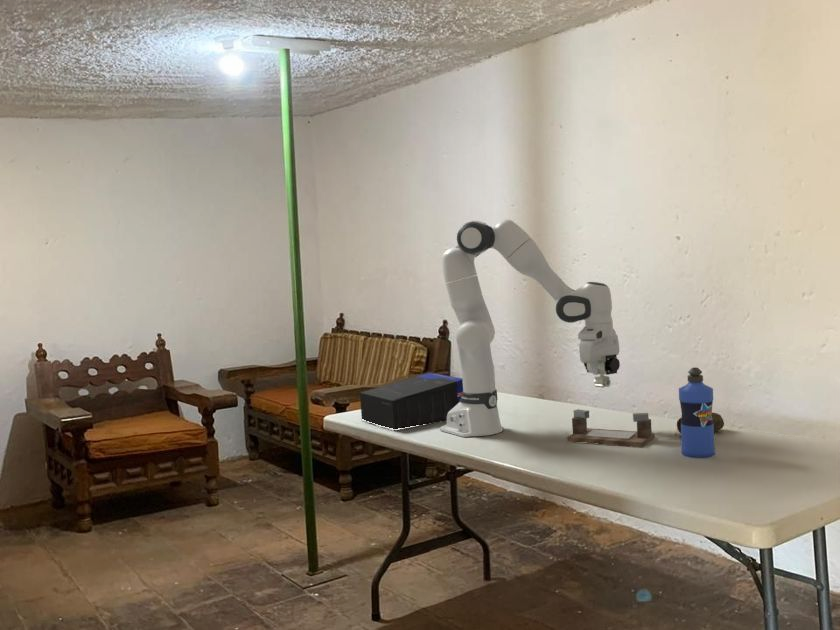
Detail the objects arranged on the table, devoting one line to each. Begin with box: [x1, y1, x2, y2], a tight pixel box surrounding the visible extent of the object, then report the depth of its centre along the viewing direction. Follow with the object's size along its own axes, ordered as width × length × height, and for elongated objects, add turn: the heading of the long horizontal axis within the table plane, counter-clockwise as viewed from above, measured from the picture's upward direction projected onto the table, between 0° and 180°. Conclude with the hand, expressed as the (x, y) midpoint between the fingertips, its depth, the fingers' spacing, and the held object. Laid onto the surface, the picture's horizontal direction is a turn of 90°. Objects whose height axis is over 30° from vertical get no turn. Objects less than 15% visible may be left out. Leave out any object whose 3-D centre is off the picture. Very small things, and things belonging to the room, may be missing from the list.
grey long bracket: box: [573, 408, 649, 439], centre depth 259 cm, size 24×8×7 cm, turn 59°
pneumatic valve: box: [583, 354, 621, 389], centre depth 271 cm, size 6×12×12 cm, turn 36°
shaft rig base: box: [566, 416, 656, 448], centre depth 259 cm, size 24×13×6 cm, turn 59°
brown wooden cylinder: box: [676, 412, 725, 435], centre depth 259 cm, size 15×7×7 cm, turn 118°
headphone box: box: [359, 372, 463, 429], centre depth 310 cm, size 25×35×14 cm
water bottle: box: [678, 367, 716, 459], centre depth 236 cm, size 9×9×25 cm
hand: (601, 372), depth 271 cm, fingers closed on pneumatic valve, 5 cm apart
